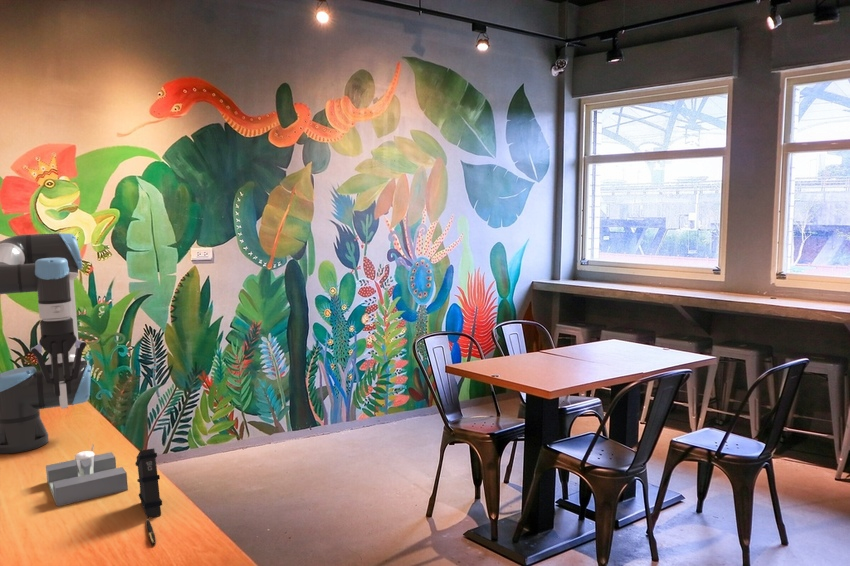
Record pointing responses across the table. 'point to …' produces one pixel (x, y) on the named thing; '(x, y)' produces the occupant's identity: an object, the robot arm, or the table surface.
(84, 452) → the milkshake
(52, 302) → the robot arm
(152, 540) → the fountain pen
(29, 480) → the table surface
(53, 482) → the frame
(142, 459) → the black ribbed column
